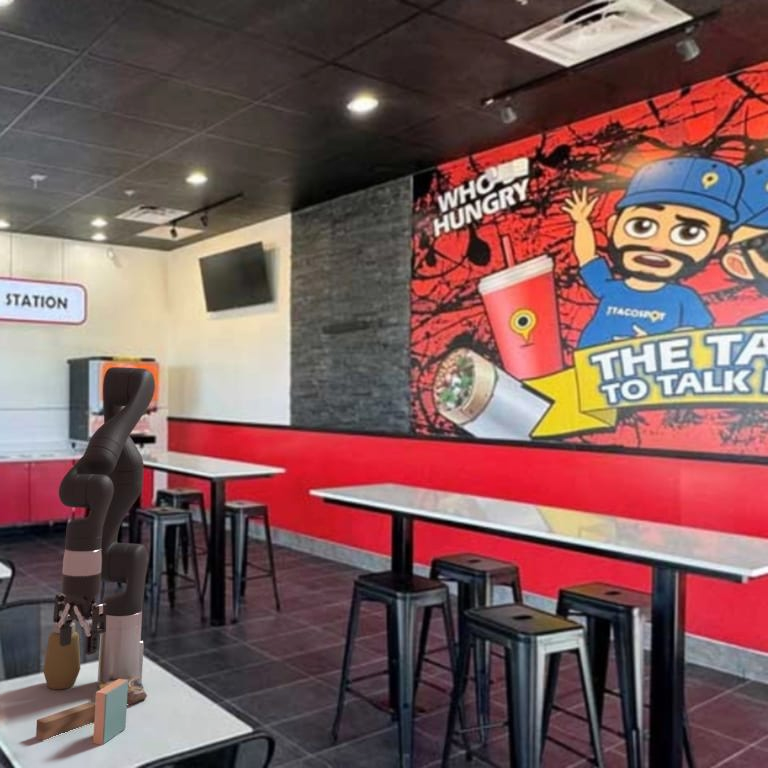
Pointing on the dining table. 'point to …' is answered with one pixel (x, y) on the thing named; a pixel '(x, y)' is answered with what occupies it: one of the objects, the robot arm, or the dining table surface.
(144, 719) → the dining table surface
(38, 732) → the wooden bar with blade
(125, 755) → the dining table surface
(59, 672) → the squeeze bottle
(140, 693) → the ceramic tile fragment
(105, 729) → the tile
